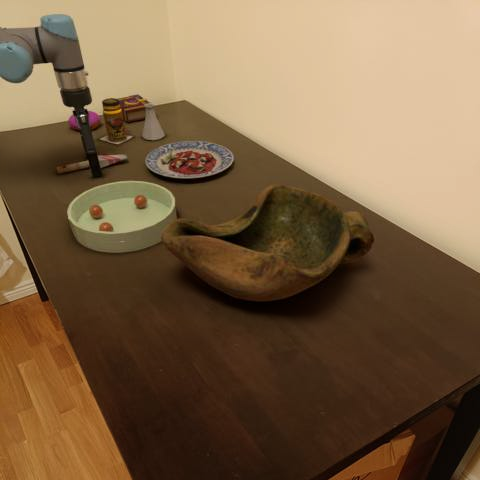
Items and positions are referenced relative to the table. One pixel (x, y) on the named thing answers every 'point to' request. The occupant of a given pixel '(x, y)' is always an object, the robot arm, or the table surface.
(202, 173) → the ceramic plate
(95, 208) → the bead
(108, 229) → the bead
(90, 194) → the bowl
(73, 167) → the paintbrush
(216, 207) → the table surface
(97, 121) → the donut
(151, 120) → the flask
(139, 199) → the bead
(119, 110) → the condiment
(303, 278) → the bowl
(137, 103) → the decorative book
